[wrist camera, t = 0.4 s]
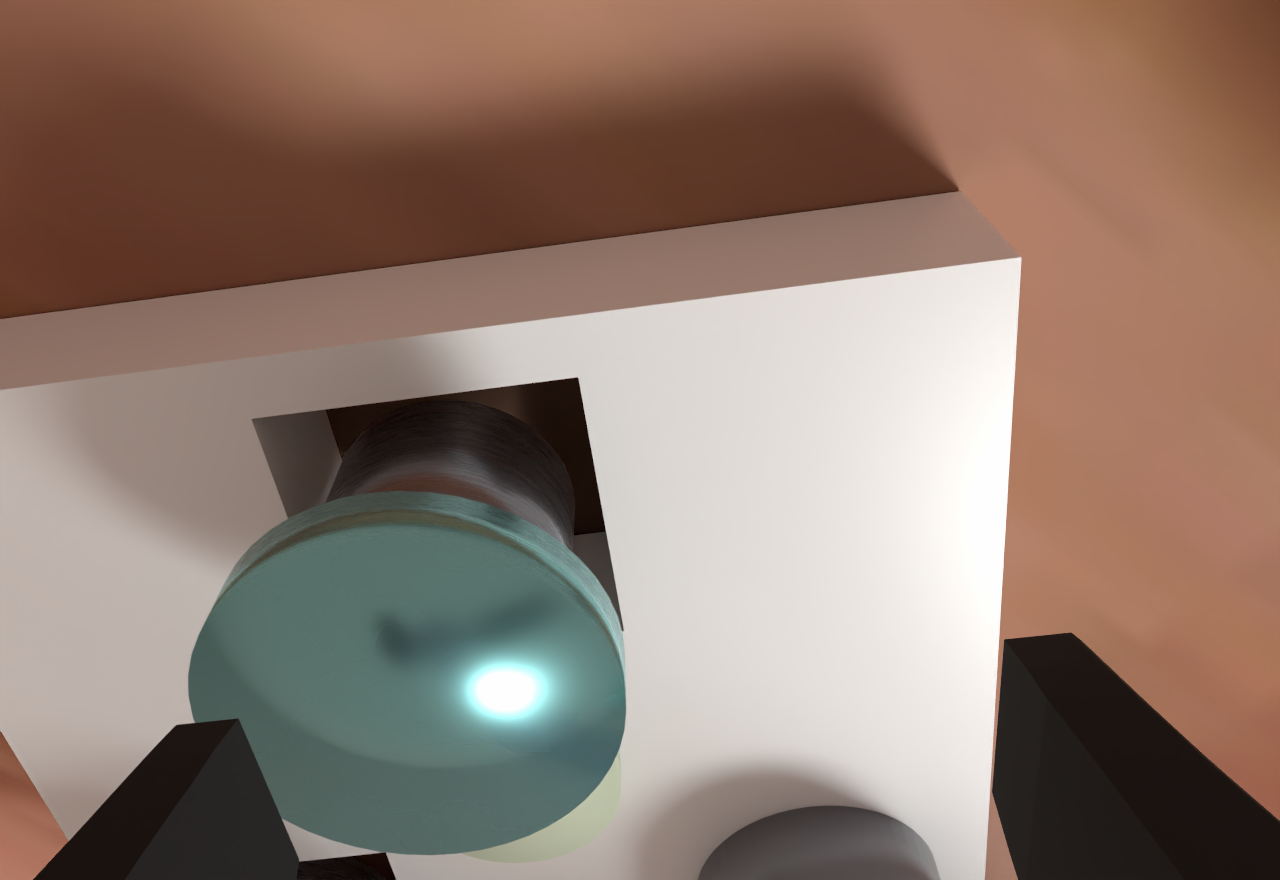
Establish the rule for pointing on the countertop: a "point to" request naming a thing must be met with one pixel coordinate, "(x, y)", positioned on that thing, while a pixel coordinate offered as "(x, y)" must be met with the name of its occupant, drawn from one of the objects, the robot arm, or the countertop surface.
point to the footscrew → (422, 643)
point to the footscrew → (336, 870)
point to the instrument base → (619, 558)
